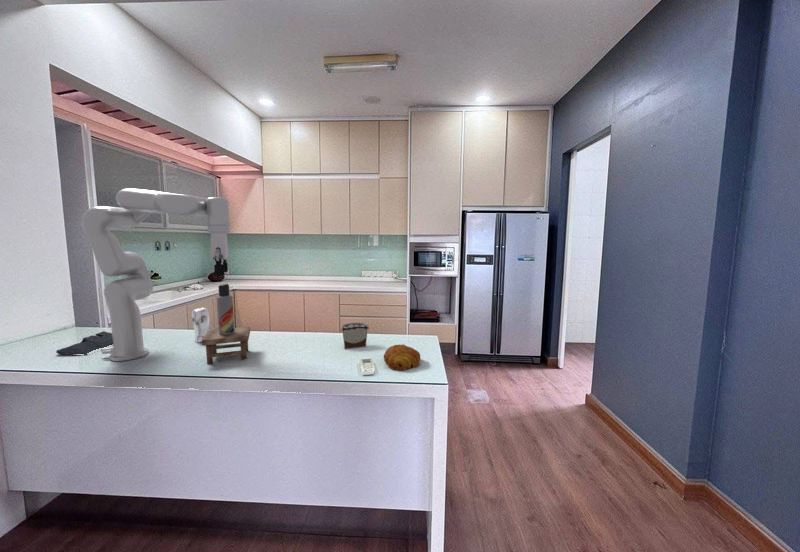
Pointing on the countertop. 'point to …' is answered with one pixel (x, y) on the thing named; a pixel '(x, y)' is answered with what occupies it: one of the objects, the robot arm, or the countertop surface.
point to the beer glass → (200, 323)
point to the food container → (354, 335)
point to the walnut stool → (215, 338)
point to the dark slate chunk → (89, 344)
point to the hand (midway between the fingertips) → (221, 273)
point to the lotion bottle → (225, 310)
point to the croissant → (401, 357)
